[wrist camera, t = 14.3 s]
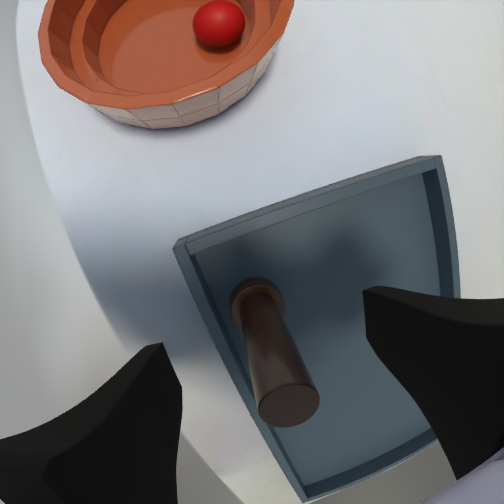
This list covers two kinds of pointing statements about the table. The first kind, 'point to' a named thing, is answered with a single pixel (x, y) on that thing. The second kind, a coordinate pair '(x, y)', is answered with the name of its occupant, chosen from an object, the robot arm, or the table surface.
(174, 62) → the bowl
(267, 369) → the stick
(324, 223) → the tray
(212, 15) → the bead
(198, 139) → the table surface
